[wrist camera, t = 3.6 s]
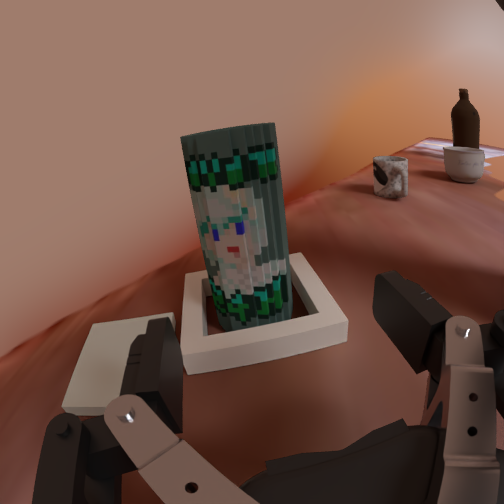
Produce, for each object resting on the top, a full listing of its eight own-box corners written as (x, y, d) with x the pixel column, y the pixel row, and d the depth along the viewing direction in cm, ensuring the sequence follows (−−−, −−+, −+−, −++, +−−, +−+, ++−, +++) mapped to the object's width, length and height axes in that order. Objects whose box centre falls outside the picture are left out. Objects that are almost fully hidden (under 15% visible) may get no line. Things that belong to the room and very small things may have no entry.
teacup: (459, 186, 53) (460, 150, 49) (435, 175, 63) (434, 143, 59) (499, 185, 52) (500, 153, 48) (474, 175, 62) (474, 145, 58)
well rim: (301, 269, 31) (300, 252, 30) (346, 341, 21) (348, 320, 20) (190, 290, 30) (185, 273, 29) (187, 375, 20) (179, 355, 19)
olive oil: (483, 162, 77) (480, 91, 66) (475, 165, 72) (472, 88, 62) (457, 157, 85) (454, 89, 75) (447, 160, 81) (444, 86, 70)
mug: (369, 190, 55) (368, 156, 52) (399, 188, 55) (398, 155, 52) (388, 204, 46) (388, 165, 43) (421, 202, 46) (422, 164, 43)
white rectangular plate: (175, 321, 26) (172, 312, 25) (169, 412, 17) (164, 403, 16) (97, 332, 25) (93, 323, 25) (68, 415, 16) (61, 406, 16)
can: (210, 334, 24) (165, 140, 17) (232, 293, 29) (203, 131, 23) (285, 339, 22) (261, 125, 16) (296, 294, 27) (279, 121, 21)
